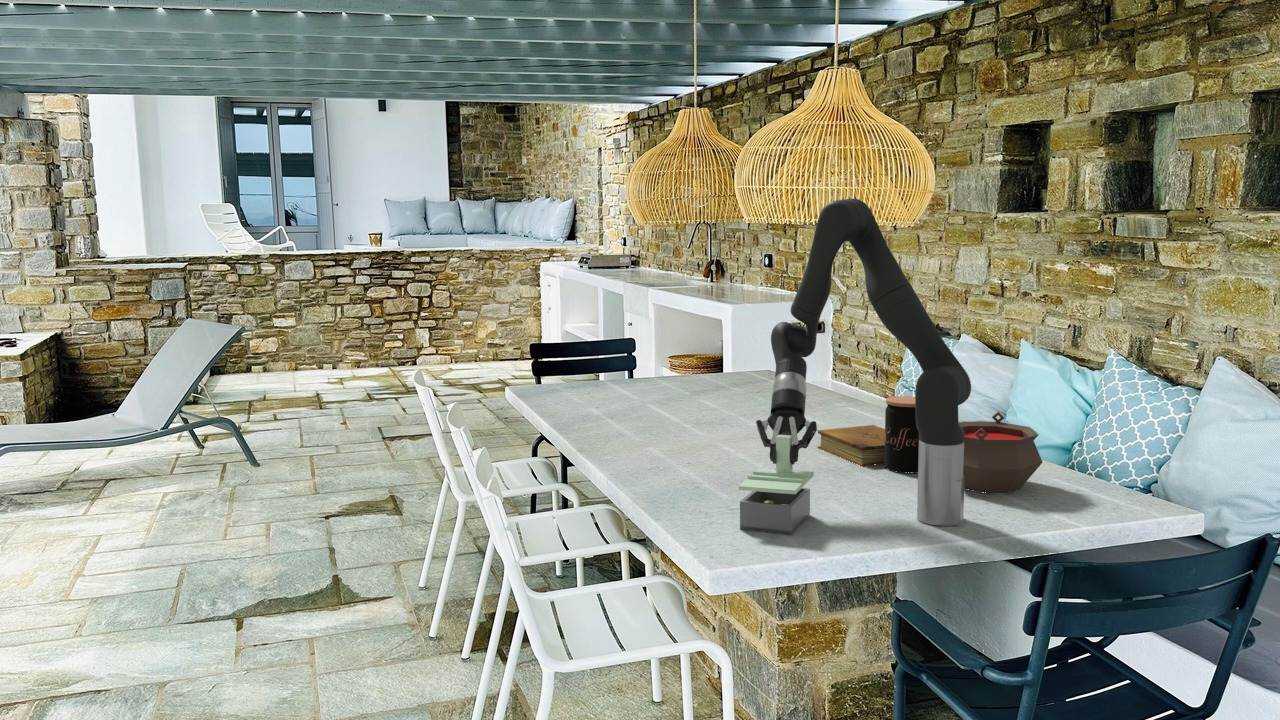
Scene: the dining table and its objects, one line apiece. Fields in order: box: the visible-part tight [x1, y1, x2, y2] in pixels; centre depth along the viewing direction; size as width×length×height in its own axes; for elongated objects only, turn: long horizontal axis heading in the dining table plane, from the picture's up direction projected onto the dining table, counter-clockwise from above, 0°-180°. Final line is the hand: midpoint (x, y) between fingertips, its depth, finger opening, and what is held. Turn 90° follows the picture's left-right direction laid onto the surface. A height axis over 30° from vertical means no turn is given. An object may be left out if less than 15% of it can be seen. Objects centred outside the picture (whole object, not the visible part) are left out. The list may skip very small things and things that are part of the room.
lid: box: [738, 435, 815, 494], centre depth 214 cm, size 12×16×9 cm
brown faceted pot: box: [958, 410, 1043, 494], centre depth 241 cm, size 24×24×16 cm
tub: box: [739, 487, 811, 536], centre depth 215 cm, size 11×15×6 cm
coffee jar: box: [883, 395, 919, 474], centre depth 258 cm, size 11×11×18 cm
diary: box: [817, 424, 885, 467], centre depth 275 cm, size 23×19×6 cm
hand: (783, 461), depth 218 cm, fingers closed on lid, 3 cm apart
